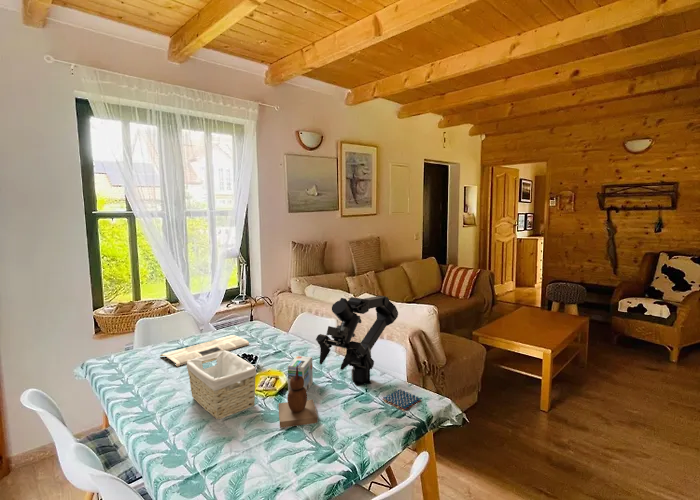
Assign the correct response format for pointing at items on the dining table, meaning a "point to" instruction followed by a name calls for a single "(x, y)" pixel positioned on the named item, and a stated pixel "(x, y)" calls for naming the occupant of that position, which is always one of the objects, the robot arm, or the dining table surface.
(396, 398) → the woven mat
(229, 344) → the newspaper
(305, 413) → the light brown wooden stand
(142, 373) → the dining table surface
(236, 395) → the storage basket
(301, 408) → the wooden figurine
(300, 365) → the light bulb box
